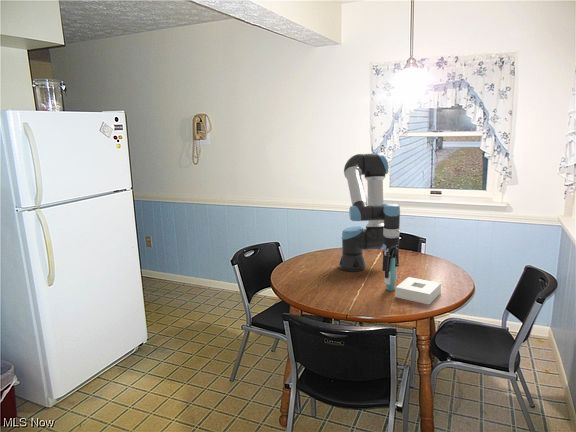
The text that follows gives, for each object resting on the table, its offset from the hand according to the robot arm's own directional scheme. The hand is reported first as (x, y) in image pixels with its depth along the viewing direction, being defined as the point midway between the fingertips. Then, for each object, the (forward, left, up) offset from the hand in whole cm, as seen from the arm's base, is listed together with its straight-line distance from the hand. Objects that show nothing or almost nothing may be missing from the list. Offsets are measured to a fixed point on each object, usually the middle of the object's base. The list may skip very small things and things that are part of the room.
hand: (390, 281), depth 209 cm
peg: (0, 0, -4) cm, 4 cm away
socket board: (+14, 0, -4) cm, 15 cm away
